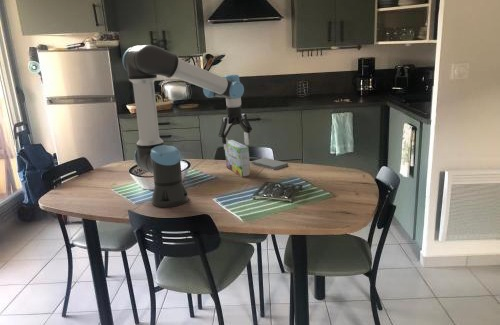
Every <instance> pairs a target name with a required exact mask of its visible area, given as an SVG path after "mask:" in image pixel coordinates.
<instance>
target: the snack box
mask: <svg viewBox="0 0 500 325" xmlns="http://www.w3.org/2000/svg"><path fill="white" fill-rule="evenodd" d="M228 149H229V150H224V154H225V164H226V168H227V169H228V170H230V171H231V172H234V174H236V175H238V176H239V177H241V178H245V177H249V176H250V177H251V167H250V166H251V165H250V162H251V161H250V150H249V149H250V148H249V146H248V145H245V144H244V143H240V142H238V141H236V140H234V139H228Z"/></svg>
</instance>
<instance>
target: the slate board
mask: <svg viewBox="0 0 500 325" xmlns="http://www.w3.org/2000/svg"><path fill="white" fill-rule="evenodd" d="M253 164H254V165H253ZM251 165H253V166H258V167H262V168H266V169H268V170H269V169H270V170H272V169H273V171H276V170H279V169H282V168H285V166H286V167H288V166H289V164H288V162H284V161H281V160H276V159H272V158H270V157H269V158H268V157H262V158H259V159H255V160H251Z"/></svg>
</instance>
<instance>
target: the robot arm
mask: <svg viewBox="0 0 500 325" xmlns="http://www.w3.org/2000/svg"><path fill="white" fill-rule="evenodd" d="M122 65H123V68H124V69H125V71H126V72H127V77H128V81H129V82H130V83H132V87H133V95H134V103H135V104H134V105H135V111H136V122H137V128H138V138H139V139H138V140H137V142H136V149H135V151H134V154H133V158H134V162H135V164H136V165H137V166H138V167H139V169H141V170H143V171H145V172H148V173H150V174H152V175H153V184H154V188H153V192H152V197H151V202H152V205H153V206H155V207H158V208H173V207H178V206H181V205H183V204H185V203H187V202H188V201H189V195H188V192H187V189H186V188H185V185H184V183H183V175H182V166H181V163H182V162H181V155H180V151H179V148H177V147H176V146H174V145H167V144H164V140H163V139H162V138H161V137H160V130H159V122H158V121H159V120H158V119H159V118H158V110H157V102H156V100H157V99H156V91H155V81H156V80H157V78H158V76H161V77H166V78H168V79H169V78H170V79H171V78H175V79H178V80H180V81H182V82H183V81H184V82H186V83H189V84H191V85H195V86H197V87H198V88H199V87H200V88H202V91H203V95H204V96H205V97H206V98H209V99H210V98H212V99H213V98H225V103H226V114H227V117H222V123H221V126H220V129H219V132H218V135H217V136H218V137H219V138H221V140H222V141H221V142H222V144H223V150H224V151H225V150H229V149H228V140H229V139H228V138H229V137H227V136H228V134H229V132H230V131H231V128H233V126H237V125H239V126H240V127H241V129H242V130H243V138H244V145H245V146H249V145H250V140H249V139H250V133H251V131H252V130H253V128H252V125H251V124H250V122H249V119H248V117H247V114H246V113H242V112H243V111H242V98H241V97H242V96H243V95H244V93H245V87H244V84H243V83H242V82H241V81H240V76H239V74H228V75H227V74H226V75H224V76H221V75H219V74H216V73H214V72H211V71H209V70H207V69H204V68H202V67H200V66H197V65H195V64H192V63H189V62H187V61H185V60H182V59H180V58H179V56H178V55H177V54H175V53H173V52H170V51H168V50H165V49H163V48H161V47H159V46H157V45H154V44H144V45H134V46H131V47H128V48H127V50H125V52H124V54H123V55H122Z"/></svg>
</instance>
